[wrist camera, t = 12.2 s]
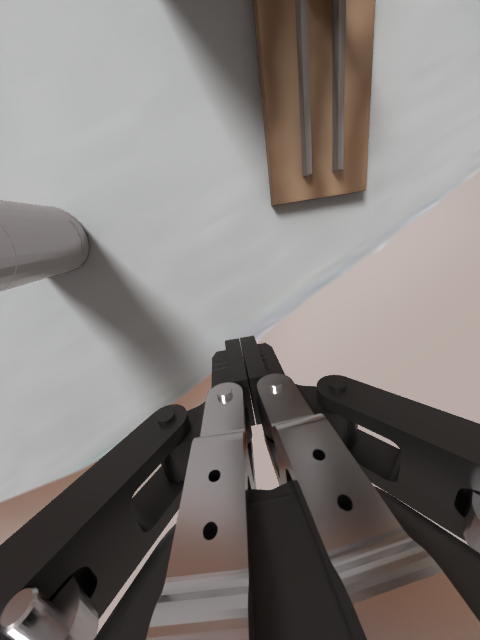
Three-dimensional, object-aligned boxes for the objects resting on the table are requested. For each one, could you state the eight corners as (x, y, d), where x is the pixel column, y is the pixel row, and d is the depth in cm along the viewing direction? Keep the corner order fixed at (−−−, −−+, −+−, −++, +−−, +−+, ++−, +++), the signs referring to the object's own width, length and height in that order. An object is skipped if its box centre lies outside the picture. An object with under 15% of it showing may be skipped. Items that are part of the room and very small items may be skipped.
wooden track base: (271, 205, 36) (277, 203, 33) (238, -166, 23) (242, -231, 20) (358, 191, 37) (372, 188, 33) (372, -180, 24) (397, -246, 21)
